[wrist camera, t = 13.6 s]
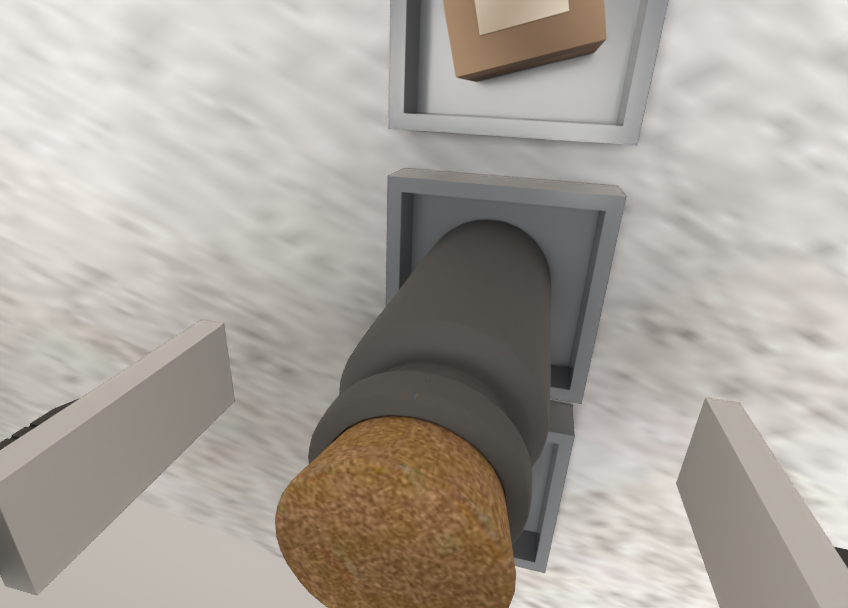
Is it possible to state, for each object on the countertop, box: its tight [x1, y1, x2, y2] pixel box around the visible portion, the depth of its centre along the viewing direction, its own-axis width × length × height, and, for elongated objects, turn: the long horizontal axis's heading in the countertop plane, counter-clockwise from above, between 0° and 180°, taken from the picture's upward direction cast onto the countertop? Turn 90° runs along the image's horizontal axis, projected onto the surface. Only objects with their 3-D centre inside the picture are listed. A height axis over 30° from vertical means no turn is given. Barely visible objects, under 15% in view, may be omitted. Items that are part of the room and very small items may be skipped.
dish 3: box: [512, 401, 574, 573], centre depth 26 cm, size 9×9×2 cm
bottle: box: [275, 219, 551, 608], centre depth 16 cm, size 6×6×15 cm
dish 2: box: [386, 168, 626, 404], centre depth 21 cm, size 9×9×2 cm
